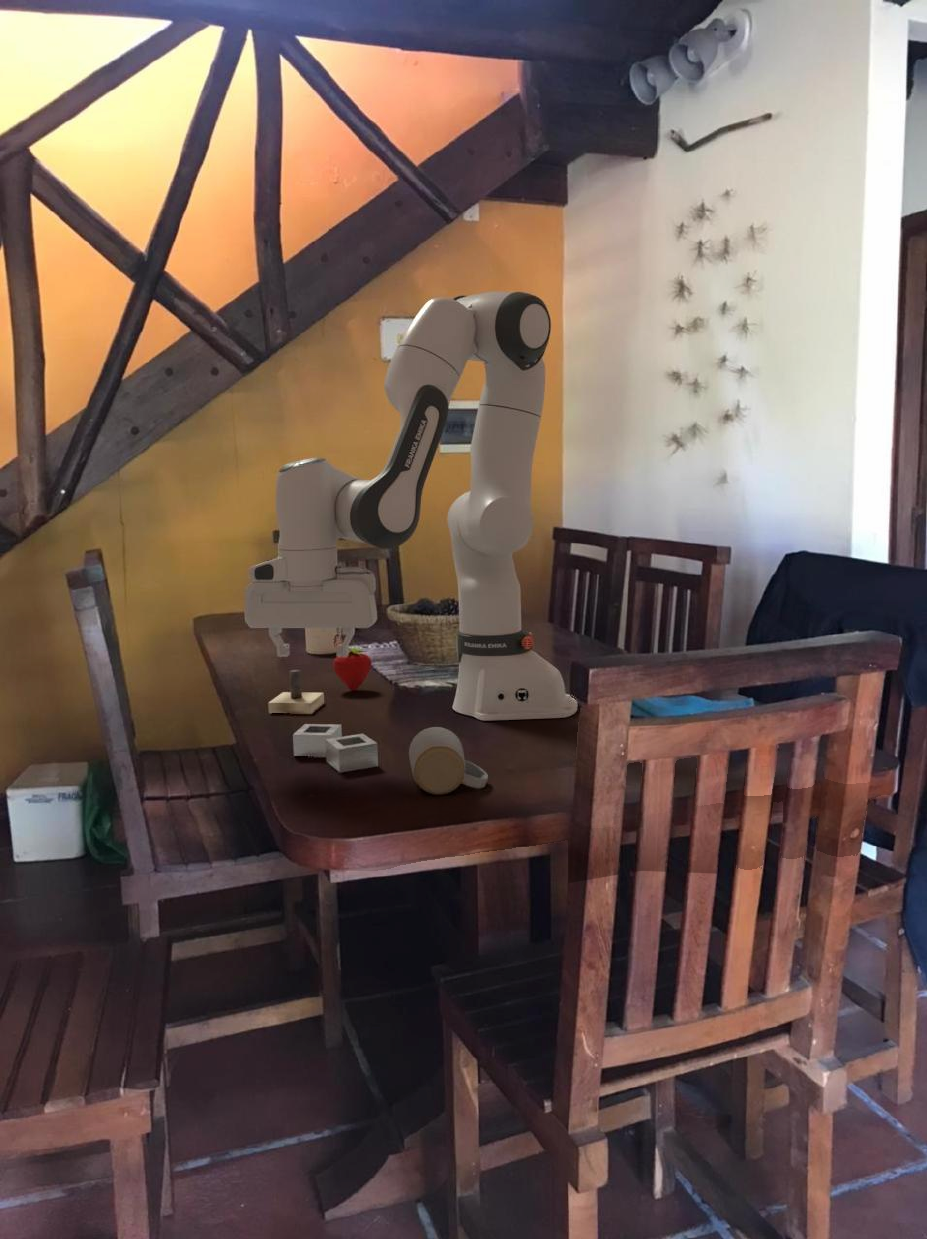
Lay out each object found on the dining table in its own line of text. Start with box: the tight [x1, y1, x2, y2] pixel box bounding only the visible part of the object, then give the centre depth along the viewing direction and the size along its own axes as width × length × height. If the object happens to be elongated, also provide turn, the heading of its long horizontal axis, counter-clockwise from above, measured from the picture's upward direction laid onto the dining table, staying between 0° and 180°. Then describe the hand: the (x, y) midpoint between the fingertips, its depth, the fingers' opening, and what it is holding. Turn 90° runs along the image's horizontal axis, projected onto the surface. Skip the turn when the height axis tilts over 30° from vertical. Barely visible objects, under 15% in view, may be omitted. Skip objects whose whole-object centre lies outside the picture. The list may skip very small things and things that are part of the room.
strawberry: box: [332, 639, 372, 692], centre depth 191 cm, size 6×8×10 cm
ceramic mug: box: [408, 726, 489, 796], centre depth 133 cm, size 11×8×8 cm
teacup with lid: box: [304, 628, 343, 655], centre depth 233 cm, size 12×9×12 cm
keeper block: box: [267, 669, 325, 715], centre depth 178 cm, size 8×8×7 cm
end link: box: [292, 723, 343, 758], centre depth 151 cm, size 6×6×4 cm
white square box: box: [325, 733, 379, 774], centre depth 144 cm, size 6×6×4 cm
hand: (313, 656), depth 149 cm, fingers open, 8 cm apart
